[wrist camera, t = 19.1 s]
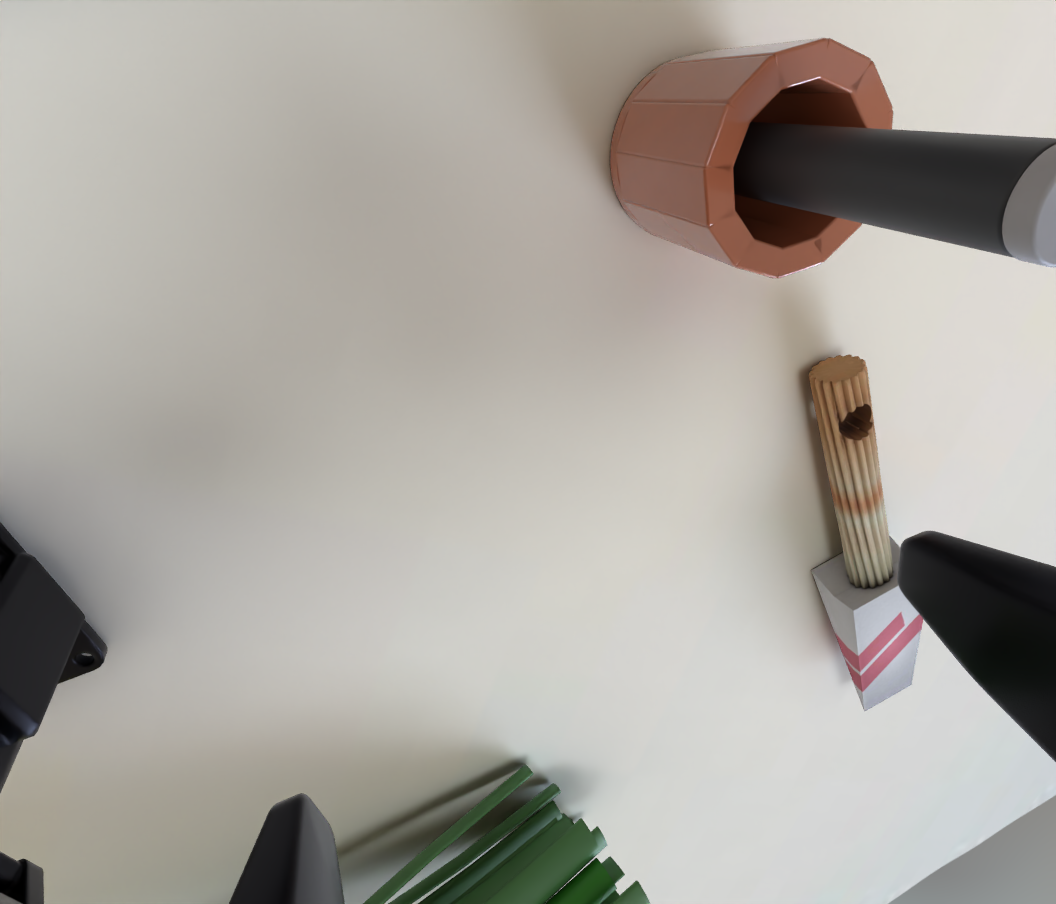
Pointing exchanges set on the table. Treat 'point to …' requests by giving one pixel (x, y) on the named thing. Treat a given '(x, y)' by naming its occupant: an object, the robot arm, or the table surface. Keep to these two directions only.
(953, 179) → the stylus
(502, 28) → the table surface
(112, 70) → the table surface
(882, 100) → the pen cup
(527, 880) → the daffodil flowers
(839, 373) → the paintbrush
